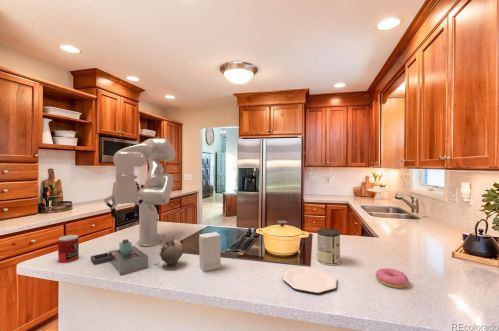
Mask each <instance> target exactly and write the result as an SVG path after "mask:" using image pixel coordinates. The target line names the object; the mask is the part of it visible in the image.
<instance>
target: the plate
mask: <svg viewBox="0 0 499 331" xmlns="http://www.w3.org/2000/svg"><path fill="white" fill-rule="evenodd" d="M282 280H283V281H284V283H287V285H289V286H290V287H291V288H292V289H294V290H297V291H301V292H307V293H311V294H323V293H326V292H329V291H333V290H335V289H337V281H338V280H337V277H336V276H334V275H332V274H331V273H329V272H327V271H326V270H324V269H320V268H313V267H308V266H300V267H296V268H289V269H286V271H285V273H284V275H283V276H282Z"/></svg>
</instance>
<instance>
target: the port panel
mask: <svg viewBox="0 0 499 331" xmlns="http://www.w3.org/2000/svg"><path fill="white" fill-rule="evenodd" d="M108 253H109V259H110V262H109V263H110V264H111V265H112V266H113V268H114V269H116V270H117V272H118V273H119V275H120V276H122V275H126V274H130V273H133V272H137V271H141V270H143V269H148V268H149V256H148V255H147V254H146V253H145V252H143V251H142V250H140V249H139V248H138V247H137V246H135V245H132V252H129V253H125V254H120V253H119V248H118V249H113V250H109V252H108Z"/></svg>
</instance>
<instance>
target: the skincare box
mask: <svg viewBox="0 0 499 331" xmlns="http://www.w3.org/2000/svg"><path fill="white" fill-rule="evenodd" d="M198 244H199V245H198V246H199V248H198V250H199V251H198V252H199V256H198V257H199V268H200V270H201V272H202V273H206V272H210V271H213V270H218V269H221V268H222V264H221V262H222V260H221V258H222V256H221V235H220V234H219V233H218V232H217V231H213V232H208V233H207V232H206V233H201V234H198Z"/></svg>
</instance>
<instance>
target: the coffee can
mask: <svg viewBox="0 0 499 331" xmlns="http://www.w3.org/2000/svg"><path fill="white" fill-rule="evenodd" d="M316 233H317V238H316V239H317V240H316V243H317V244H316V247H317V249H316V250H317V252H316V253H317V255H316V256H317V262H318V263H320V264H322V265H323V266H324V265H325V266H332V267H333V266H338V265H340V264H341V231H340V230H338V229H334V228H326V227H324V228H318V229H316Z"/></svg>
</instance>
